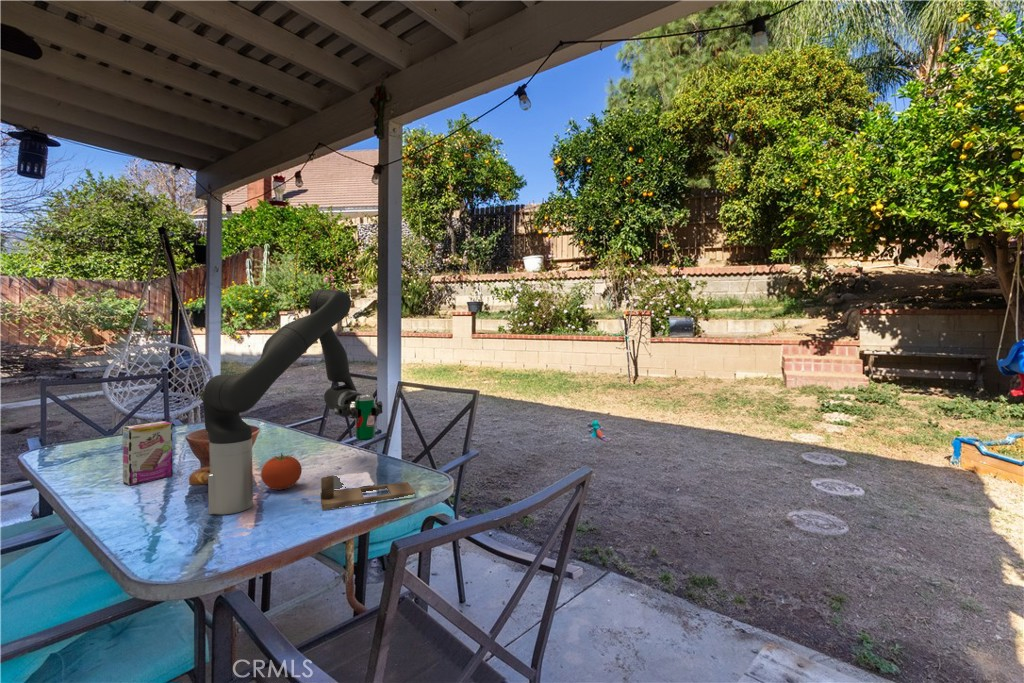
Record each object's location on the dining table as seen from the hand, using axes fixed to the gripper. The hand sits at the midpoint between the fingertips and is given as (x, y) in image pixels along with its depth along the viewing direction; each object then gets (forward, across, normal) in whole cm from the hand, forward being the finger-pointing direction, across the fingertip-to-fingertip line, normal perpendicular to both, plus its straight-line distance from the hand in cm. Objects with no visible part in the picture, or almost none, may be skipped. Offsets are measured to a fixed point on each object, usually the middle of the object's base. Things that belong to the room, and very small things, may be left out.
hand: (367, 413), depth 135 cm
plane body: (+6, -2, +21) cm, 22 cm away
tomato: (-14, -20, +22) cm, 33 cm away
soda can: (-3, 0, +8) cm, 8 cm away
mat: (-10, -3, +22) cm, 24 cm away
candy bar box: (-42, -53, +22) cm, 71 cm away
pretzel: (-33, -37, +22) cm, 54 cm away
